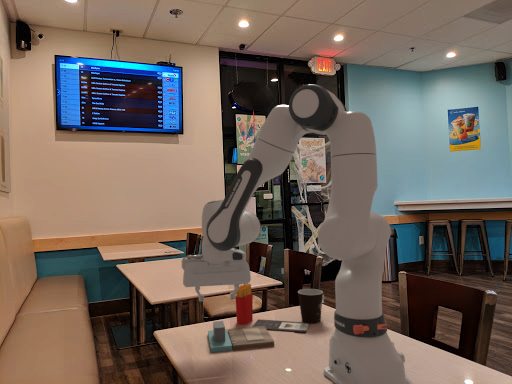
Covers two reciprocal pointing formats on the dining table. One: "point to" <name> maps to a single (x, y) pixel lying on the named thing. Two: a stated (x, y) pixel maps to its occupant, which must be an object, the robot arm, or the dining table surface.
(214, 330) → the teal base gray block
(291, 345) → the dining table surface
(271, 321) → the chocolate bar
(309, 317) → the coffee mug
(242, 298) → the french fries
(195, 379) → the dining table surface
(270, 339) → the board
